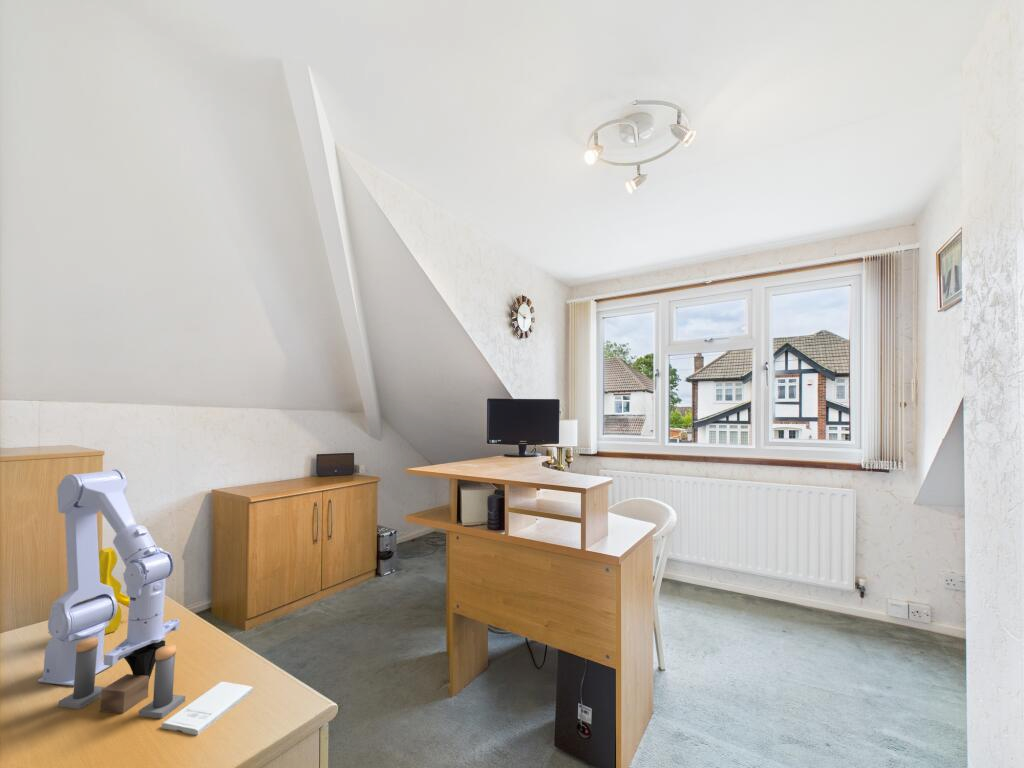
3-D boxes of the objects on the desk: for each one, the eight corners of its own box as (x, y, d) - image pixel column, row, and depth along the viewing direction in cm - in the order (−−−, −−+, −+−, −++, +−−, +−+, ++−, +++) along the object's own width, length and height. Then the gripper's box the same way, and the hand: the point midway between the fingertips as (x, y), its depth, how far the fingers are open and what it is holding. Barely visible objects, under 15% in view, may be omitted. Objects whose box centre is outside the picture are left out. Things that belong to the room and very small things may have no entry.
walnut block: (100, 711, 83) (101, 689, 83) (125, 694, 88) (127, 674, 88) (123, 713, 83) (124, 691, 83) (147, 696, 88) (149, 675, 88)
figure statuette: (136, 616, 121) (141, 536, 122) (147, 624, 117) (152, 541, 118) (44, 644, 106) (52, 553, 107) (53, 655, 102) (60, 560, 103)
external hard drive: (252, 694, 89) (197, 738, 77) (220, 688, 91) (160, 731, 79) (253, 686, 89) (197, 729, 77) (220, 680, 91) (161, 721, 79)
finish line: (58, 706, 84) (62, 647, 85) (86, 690, 89) (90, 634, 90) (161, 718, 81) (165, 657, 82) (185, 701, 86) (188, 643, 87)
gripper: (128, 633, 82) (123, 707, 81) (193, 600, 97) (189, 663, 96) (96, 630, 83) (91, 703, 82) (165, 598, 98) (161, 660, 97)
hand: (142, 681), depth 89 cm, fingers closed
